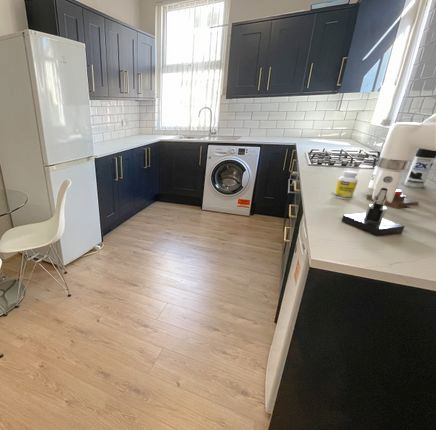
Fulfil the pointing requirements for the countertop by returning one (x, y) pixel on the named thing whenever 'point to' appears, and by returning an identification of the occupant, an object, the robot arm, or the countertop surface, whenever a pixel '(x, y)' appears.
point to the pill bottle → (346, 185)
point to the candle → (374, 178)
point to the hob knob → (381, 214)
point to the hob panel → (372, 225)
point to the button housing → (397, 201)
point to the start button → (398, 192)
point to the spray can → (420, 168)
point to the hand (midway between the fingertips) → (372, 217)
